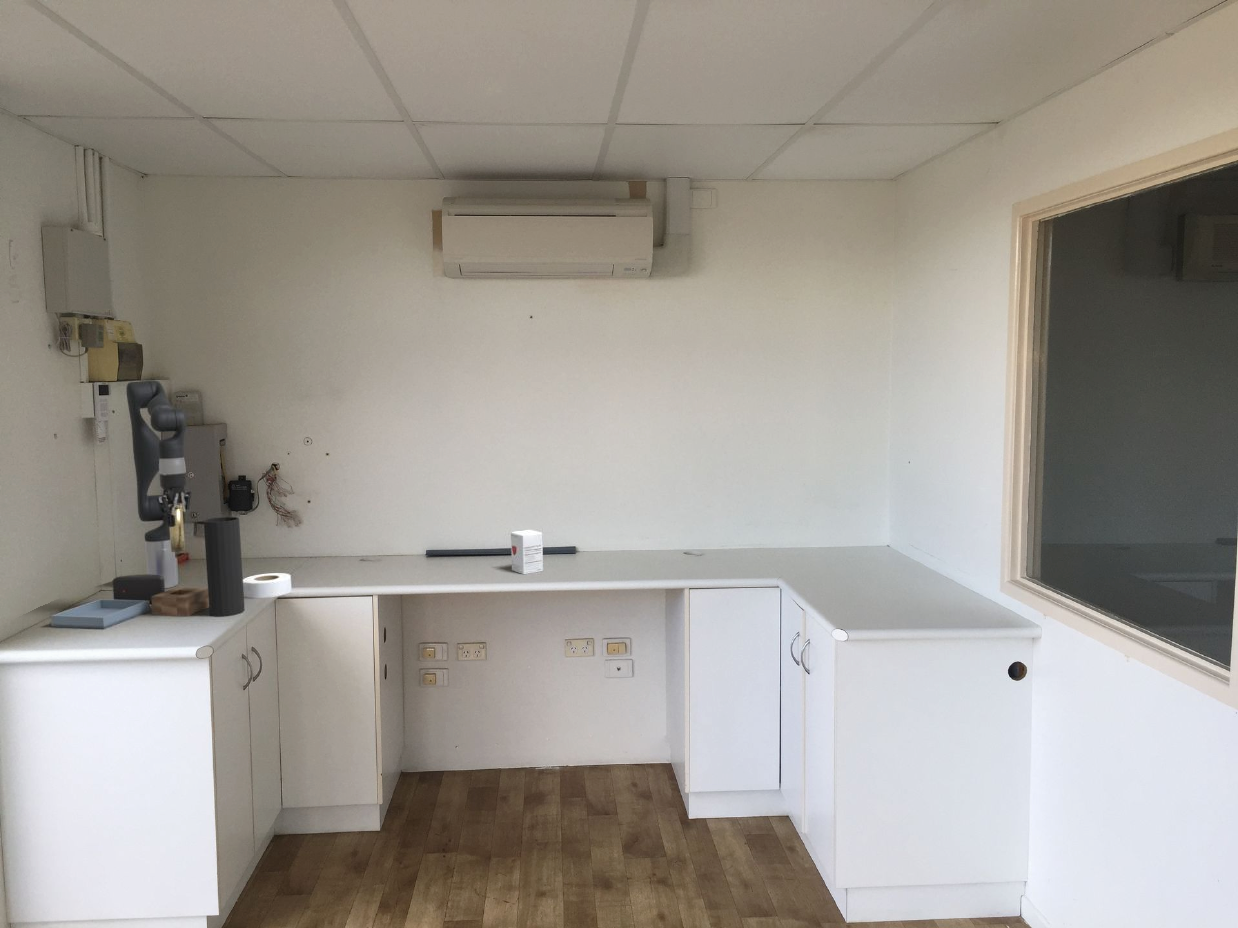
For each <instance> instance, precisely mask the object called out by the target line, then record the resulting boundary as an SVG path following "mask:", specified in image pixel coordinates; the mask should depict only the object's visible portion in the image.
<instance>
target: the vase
mask: <svg viewBox="0 0 1238 928" xmlns="http://www.w3.org/2000/svg"><path fill="white" fill-rule="evenodd" d="M240 527H241V526H240V518H239V517H237V516H221V517H213V518H207V519H205V520H203V530H204V546H205V547H204V548H205V561H206V562H205V563H206V576H207V577H206V578H207V588H208V596H209V607H208V608H209V609H208V610H209V615H210V616H213V617H218V618H219V617H229V616H235V615H239V614H242V613H244V612H245V610H246V609H245V597H244V591H243V579H244V577H243V576H244V575H243V563H242V562H243V561H242V545H241V544H242V543H241V528H240Z"/></svg>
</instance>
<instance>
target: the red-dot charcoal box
mask: <svg viewBox="0 0 1238 928" xmlns="http://www.w3.org/2000/svg"><path fill="white" fill-rule="evenodd" d="M165 591H166V588H165V585H164V578H163V577H162V576H161V575H152V574H147V573H146V574H131V575H130V574H129V575H121V576H116V577H114V578H113V580H112V593H113V599H115V600H144V601H149V602H150V605H152V598H151V597H152V596H154V595H157V594H160V593H163V592H165Z"/></svg>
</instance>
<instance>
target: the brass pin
mask: <svg viewBox="0 0 1238 928" xmlns="http://www.w3.org/2000/svg"><path fill="white" fill-rule="evenodd" d="M169 505H172V504H169ZM169 509H170V511H171V508H169ZM174 515H175V526H174V527H170V542H171V551H172V552H176V553H179V552H183V551H186V545H185V543H186V541H185V530H184V524H183V511H182V504H181V503H177V506H176V508H175V512H174Z"/></svg>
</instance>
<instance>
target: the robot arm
mask: <svg viewBox="0 0 1238 928" xmlns="http://www.w3.org/2000/svg"><path fill="white" fill-rule="evenodd" d="M125 392H126V400H127V405H128V406H127V407H128V412H129V418H130V427H131V435H132V436H131V437H132V451H133V452H132V453H133V461H134V467H135V477H136V489H137V490H136V492H137V512H138V513H137V514H138V518H139V520H140V521H142V522H159V521H162V523H161V524H160V525H159V526H158V527H155V528H154V529H151V530H148V531H147V532H145V533H144V544H145V546H144V547H145V558H146V560H145V561H146V574H152V575H161V576H162V577H163V578H164V585H165V589H170V588H175V587H176V586H177V585H178V584H179V573H178V572H179V570H178V569H179V568H178V558H177V557H176V553H175V552H172V551H171V542H170V527H174V526H175V515H174V512H175V508H176V506H177V503H181V504H182V511H183V525H185V523H186V517H185V516H186V515H185V513H186V511H187V510H189V509H190V504H191V498H192V491H190V490H186V489H185V487H186V486H187V484H188V482H187V471H186V470H187V468H186V462H185V452H184V451H185V449H184V441H185V435H186V430H187V428H188V426H187V425H188V423H189V417H188V413H187V412H186V411H185V410H184V409H182V408H174V407H173V406H172V404H171V403H170V402H169V400H168V399H169V398H168V396H167V393H166V390H165V389H164V387H163V385H162V384H161V383H160V382H159V381H157V380H140V381H139V380H138V381H130V382H128V384H126V391H125ZM141 409H147V412H148V415H150V425H151V427H150V426H149V425H148V423H147V422H146V420H145V419H144V418H143V415H142V414H141ZM155 431H156V432H161V433H164V432H165V433H166V432H174V434H173V435H172V437H168V438H164V439H162V440H161V438H160V437H159V436H158V435H157V433H156V432H155ZM158 473H159V484H160V485H159V486H160V487H161V488H162V489H163V492H162V494H155V495H153V494H152V495H149V494H148V491H149V488H150V486H151V484H152V482H153V480H154V478H155V477H156V475H157V474H158ZM169 504H172V505H169ZM169 508H171V511H170V509H169Z"/></svg>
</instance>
